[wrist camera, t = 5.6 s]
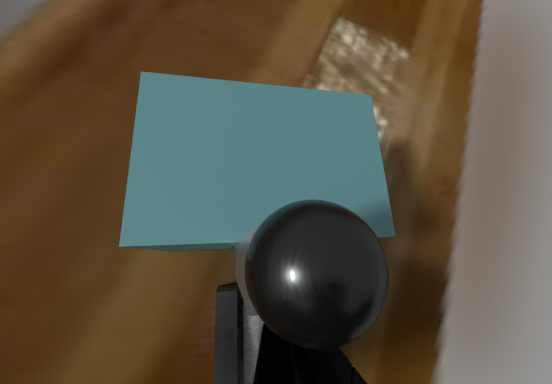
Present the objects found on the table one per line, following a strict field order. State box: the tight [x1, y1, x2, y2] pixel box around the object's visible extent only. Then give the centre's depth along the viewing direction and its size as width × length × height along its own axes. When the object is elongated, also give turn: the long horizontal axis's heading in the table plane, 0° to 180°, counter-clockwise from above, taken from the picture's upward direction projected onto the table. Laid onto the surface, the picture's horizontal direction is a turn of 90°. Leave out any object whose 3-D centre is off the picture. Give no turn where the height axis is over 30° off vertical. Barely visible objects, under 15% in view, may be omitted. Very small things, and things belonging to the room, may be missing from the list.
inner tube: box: [236, 199, 389, 384], centre depth 10 cm, size 12×3×13 cm, turn 3°
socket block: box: [119, 72, 396, 251], centre depth 15 cm, size 8×12×8 cm, turn 93°
